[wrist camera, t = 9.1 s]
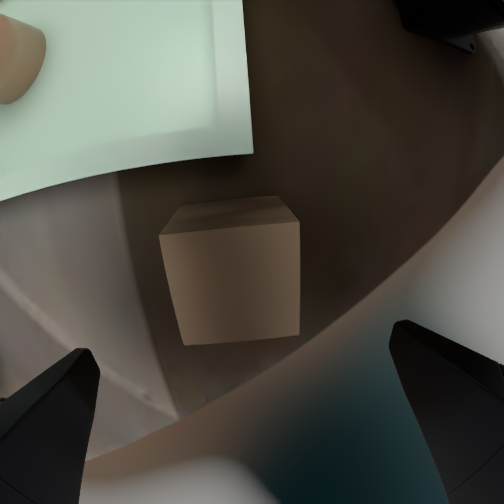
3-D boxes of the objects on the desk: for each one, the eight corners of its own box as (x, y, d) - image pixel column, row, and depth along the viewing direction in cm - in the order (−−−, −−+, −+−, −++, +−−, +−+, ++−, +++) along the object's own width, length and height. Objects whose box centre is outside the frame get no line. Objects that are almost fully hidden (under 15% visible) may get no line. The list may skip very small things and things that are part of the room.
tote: (229, -78, 7) (230, -124, 3) (245, 149, 14) (253, 153, 9) (-8, 7, 7) (-46, -5, 2) (-13, 202, 13) (-61, 224, 8)
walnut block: (277, 195, 15) (299, 222, 10) (281, 281, 17) (299, 334, 12) (181, 204, 14) (158, 235, 10) (194, 289, 16) (183, 345, 12)
